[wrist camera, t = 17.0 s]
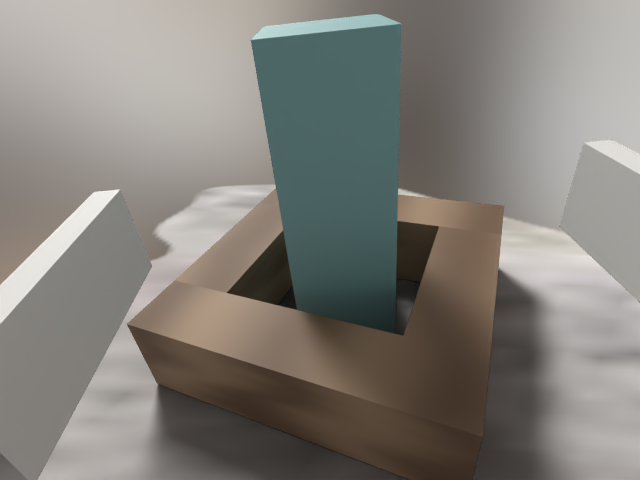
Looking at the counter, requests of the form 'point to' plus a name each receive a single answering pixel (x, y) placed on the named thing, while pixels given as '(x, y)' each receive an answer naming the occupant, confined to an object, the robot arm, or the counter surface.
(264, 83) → the teal peg
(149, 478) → the counter surface
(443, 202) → the block
